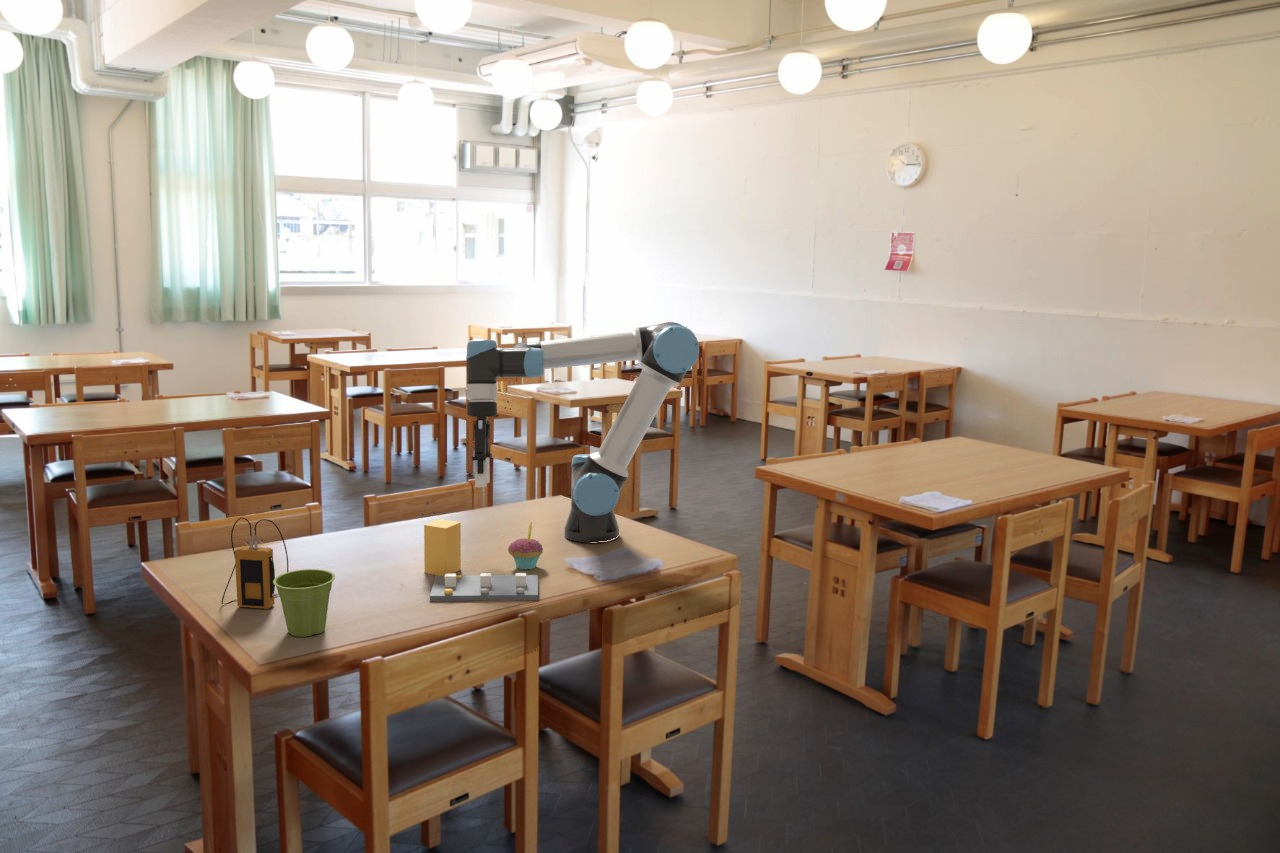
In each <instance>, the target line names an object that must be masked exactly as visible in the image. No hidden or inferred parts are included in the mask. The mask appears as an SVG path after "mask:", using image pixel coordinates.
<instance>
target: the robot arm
mask: <svg viewBox="0 0 1280 853" xmlns="http://www.w3.org/2000/svg"><path fill="white" fill-rule="evenodd" d="M699 354H700V345H699V341H698V338H697V336H696V334H695V333H694V332H693V331H692V330H691V329H690V328H688V327H687V326H684V325H682V324H680V323H677V322H674V321H667V322H662V323H657V324H654V325H648V326H641V327H636V329H635V330H634V331H630V332H620V333H610V334H600V335H591V336H589V335H588V336H579V337H572V338H570V337H569V338H563V339H561V338H560V339H553V340H542V341H533V342H532V341H531V342H526V341H521V342H517V343H514V344H513V345H512V346H511V347H498V345H497V341H496V340H492V339H471V340H469V341H468V342H467V344H466V358H465V360H466V362H465V363H466V387H465V388H464V392H466V399H467V400H468V401H469V402H467V403H466V415H467V417H471V418H473V417H475V418H476V420H475V421H474V424H473V431H474V437H473V438H474V455H473V456H472V458H471V460H472V462H474V485H475V486H474V487H475V488H487V484H490V481H491V480H490V476H491V475H490V472H491V469H490V458H493V453H492V452H491V451H490V437H491V432H490V431H491V423H490V421H489V419H488V418H489V417H490V418H492V417H494V418H495V417H497V415H498V403H497V401H495V400H498V382H497V381H498V380H497V379H498V378H501V379H502V378H528V379H533V378H541V377H543V376H544V374H545V370H550V369H559V368H560V369H561V368H570V367H578V366H590V365H600V364H609V363H619V362H620V363H621V362H629V361H630V362H631V361H637V362H639V363H640V367H641V372H640V374H639V376H638V378H637V379H636V381H635V383H634V384H633V387H632V389H631V390H630V392H629V394H628V396H627V398H626V400H625V401H624V404H623V405H622V407H621V408H620V411H619V412H618V414H617V416H616V417H615V419H614V421H613V424H612V425H611V427H610V428H609V431H608V432H607V434H606V436H605V437H604V440H602V443H601V445H600V447H599V448H598V450H597V451H596V452H592V453H586V454H585V453H584V454H582V453H580V454H576V455H573V456H572V459H571V464H570V466H571V486H570V487H571V492H570V494H571V495H570V496H571V497H570V498H571V499H570V501H571V502H570V504H571V505H570V507H571V508H570V511H569V514H568V517H567V519H566V523H565V526H564V534H563V535H565V536H564V538H565V539H567V538H568V539H567V540H569V539H570V540H569V541H571V540H574V541H573V542H575V541H580V542H579V543H581V542H599V541H607V540H611V539H613V538H616V537H617V536H618V535H619V536H620V527H619V525H618V521H617V520H618V519H617V517H616V514H615V511H614V508H615V507H616V506H617V504H618V502H619V499H620V493H621V490H622V489H623V487H624V485H625V483H626V481H627V480H628V478H629V476H630V475H629V471H628V466H629V464H630V462H631V460H632V458H633V457H634V455H635V453H636V452H637V449H638V448H639V446H640V444H641V443H642V441H643V439H644V437H645V435H646V434H647V432H648V430H649V428H650V426H651V425H652V422H653V421H654V419H655V417H656V415H657V413H658V412H659V410H660V407H661V406H662V404H663V403H664V401H665V399H666V397H667V395H668V393H670V390H671V388H672V387H675V386H678V385H680V384H681V382H682V380H683V378H684V377H685V375H686V373H687V372H688V371H689V370H690V369H691V368H693V366H694V365H695V364H696V362H697V360H698V358H699Z"/></svg>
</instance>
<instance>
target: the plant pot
mask: <svg viewBox="0 0 1280 853" xmlns="http://www.w3.org/2000/svg"><path fill="white" fill-rule="evenodd" d="M335 579H336V575H335V573H333V572H332V571H329V570H325V569H319V568H317V569H315V568H313V569H312V568H309V569H308V568H307V569H306V568H305V569H304V568H303V569H297V570H291V571H288V572H287V571H286V572H284V573H281V574H279V575H277V576H275V579H274V581H273V584H274V585H275V588H276V590H277V594H279V595H278V596H279V600H280V602H281V607H282V611H283V612H282V613H283V615H284V620H285V625H286V628H287V633H288V634H290V635H291V636H292V637H296V636H297V638H301V637H302V638H307V636H309V637H311V636H313V635H319V634H321V633H322V632H324V631H325V630H326V624H327V618H328V610H329V609H328V608H329V600H330V593H331V590H332V585H333V582H334V580H335Z"/></svg>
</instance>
